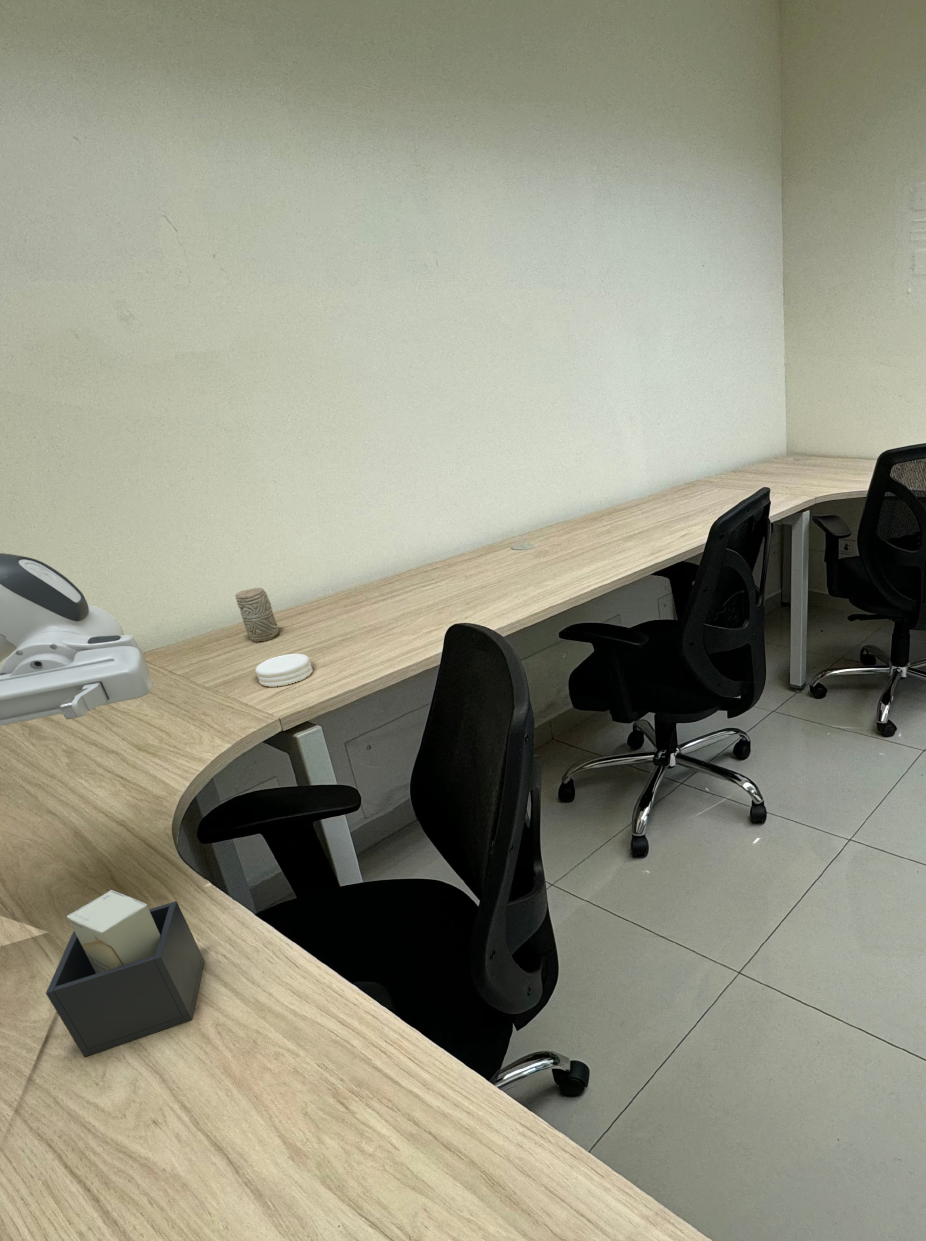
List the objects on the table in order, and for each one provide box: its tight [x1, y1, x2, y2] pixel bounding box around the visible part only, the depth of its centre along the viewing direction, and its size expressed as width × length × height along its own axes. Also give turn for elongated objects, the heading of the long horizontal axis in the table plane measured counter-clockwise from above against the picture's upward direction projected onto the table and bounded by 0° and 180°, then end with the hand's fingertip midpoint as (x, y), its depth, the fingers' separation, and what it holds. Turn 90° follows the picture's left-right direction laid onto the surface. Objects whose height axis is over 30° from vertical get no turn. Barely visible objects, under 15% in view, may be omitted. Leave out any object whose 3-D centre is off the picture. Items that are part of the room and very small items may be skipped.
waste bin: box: [45, 900, 205, 1058], centre depth 79 cm, size 9×9×9 cm
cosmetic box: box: [66, 889, 160, 974], centre depth 78 cm, size 6×4×12 cm
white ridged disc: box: [255, 653, 313, 688], centre depth 158 cm, size 10×10×4 cm
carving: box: [234, 587, 279, 643], centre depth 179 cm, size 6×8×12 cm
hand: (14, 723), depth 77 cm, fingers open, 8 cm apart
